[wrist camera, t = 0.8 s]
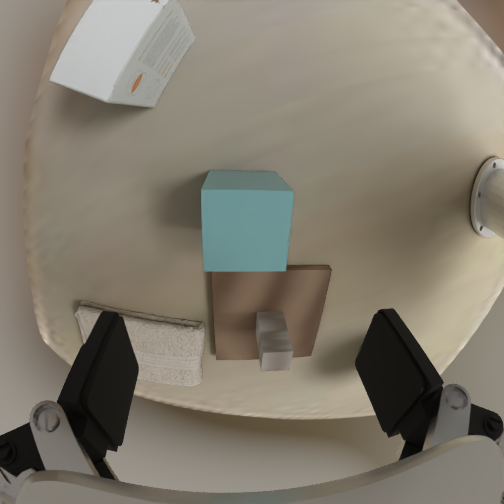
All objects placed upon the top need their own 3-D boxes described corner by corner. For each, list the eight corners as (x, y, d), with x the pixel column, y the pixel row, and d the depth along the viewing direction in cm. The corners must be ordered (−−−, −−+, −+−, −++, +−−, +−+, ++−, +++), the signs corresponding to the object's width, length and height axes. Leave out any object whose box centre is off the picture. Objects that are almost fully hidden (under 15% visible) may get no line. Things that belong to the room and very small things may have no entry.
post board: (329, 265, 30) (353, 305, 23) (309, 350, 36) (322, 392, 30) (212, 265, 29) (207, 309, 22) (216, 354, 35) (215, 399, 28)
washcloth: (77, 295, 30) (68, 309, 27) (208, 317, 33) (206, 334, 30) (93, 354, 35) (87, 369, 32) (202, 374, 38) (201, 390, 35)
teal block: (275, 171, 25) (294, 191, 18) (271, 232, 28) (285, 271, 21) (209, 170, 24) (201, 189, 17) (210, 231, 27) (203, 271, 20)
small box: (148, 22, 17) (107, -22, 7) (197, 39, 18) (178, -9, 9) (107, 91, 20) (44, 82, 10) (154, 110, 21) (106, 104, 12)
